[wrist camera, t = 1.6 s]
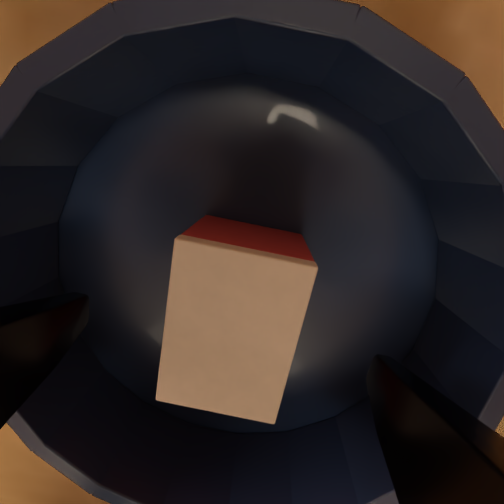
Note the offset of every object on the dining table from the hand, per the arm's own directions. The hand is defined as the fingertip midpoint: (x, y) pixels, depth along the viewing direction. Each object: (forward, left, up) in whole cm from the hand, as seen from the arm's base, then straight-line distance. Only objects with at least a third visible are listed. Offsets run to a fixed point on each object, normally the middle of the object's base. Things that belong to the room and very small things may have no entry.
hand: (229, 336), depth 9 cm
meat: (0, 0, -4) cm, 4 cm away
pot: (0, 0, -4) cm, 4 cm away
